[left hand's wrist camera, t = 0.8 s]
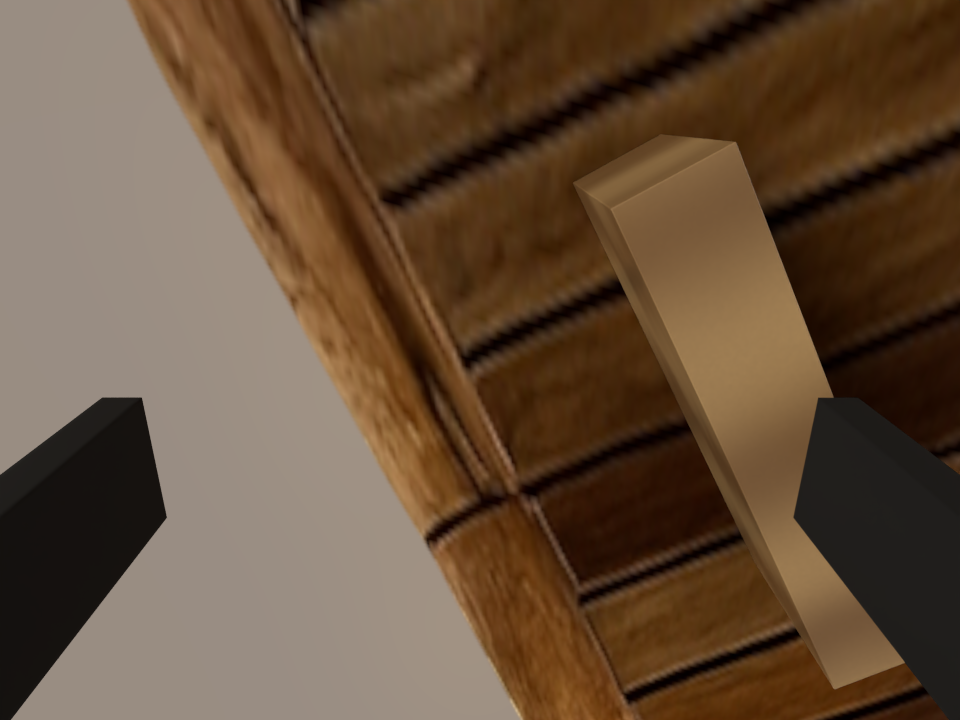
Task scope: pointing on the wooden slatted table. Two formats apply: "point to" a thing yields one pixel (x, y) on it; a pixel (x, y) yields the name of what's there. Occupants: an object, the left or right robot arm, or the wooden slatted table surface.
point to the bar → (733, 364)
